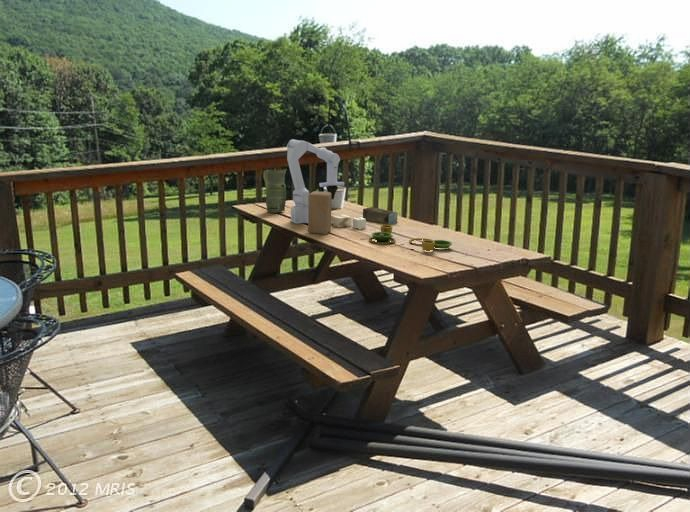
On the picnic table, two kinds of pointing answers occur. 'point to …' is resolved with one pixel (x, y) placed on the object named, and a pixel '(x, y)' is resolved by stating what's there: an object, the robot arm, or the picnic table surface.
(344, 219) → the plain block
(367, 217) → the beverage carton
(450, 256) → the picnic table surface
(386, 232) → the tableware set
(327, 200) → the block
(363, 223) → the numbered cube seven
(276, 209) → the green vase
